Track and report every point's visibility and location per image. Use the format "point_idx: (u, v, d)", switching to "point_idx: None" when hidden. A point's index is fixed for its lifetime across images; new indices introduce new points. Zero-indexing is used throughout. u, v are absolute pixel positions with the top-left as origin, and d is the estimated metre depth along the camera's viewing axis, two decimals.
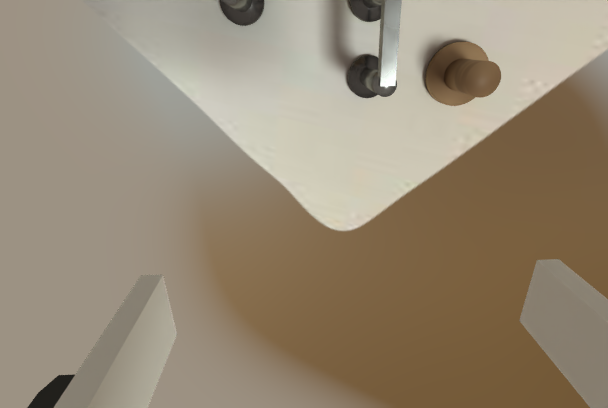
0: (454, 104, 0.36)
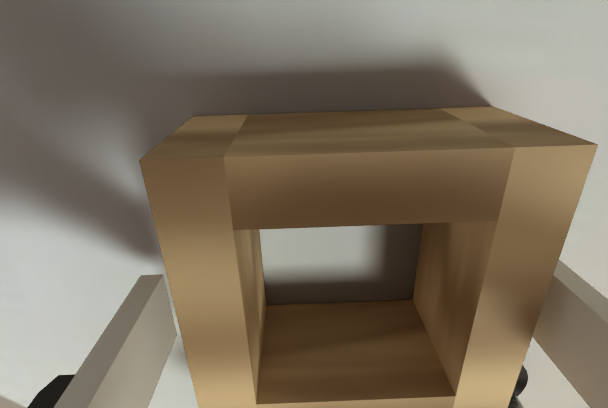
0: None
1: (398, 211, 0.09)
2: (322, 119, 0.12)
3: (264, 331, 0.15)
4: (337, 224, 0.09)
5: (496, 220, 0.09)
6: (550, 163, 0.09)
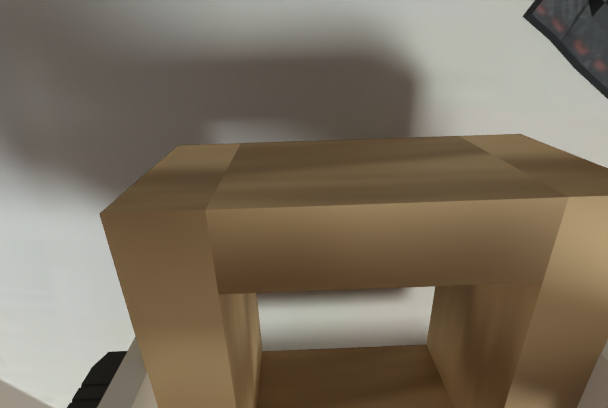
0: None
1: (421, 272, 0.07)
2: (326, 151, 0.10)
3: (259, 385, 0.13)
4: (346, 287, 0.08)
5: (541, 282, 0.08)
6: None
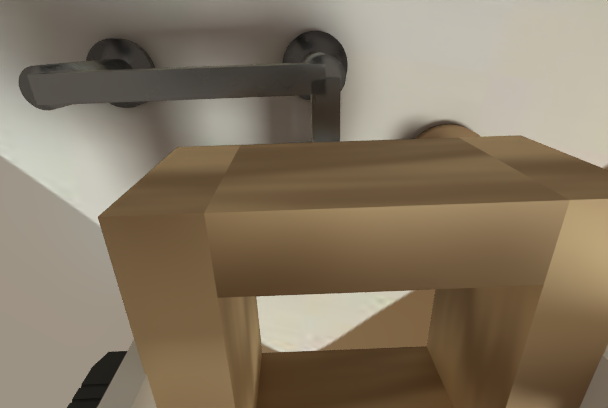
0: None
1: (421, 275, 0.07)
2: (326, 153, 0.10)
3: (259, 387, 0.13)
4: (346, 290, 0.08)
5: (541, 285, 0.08)
6: None
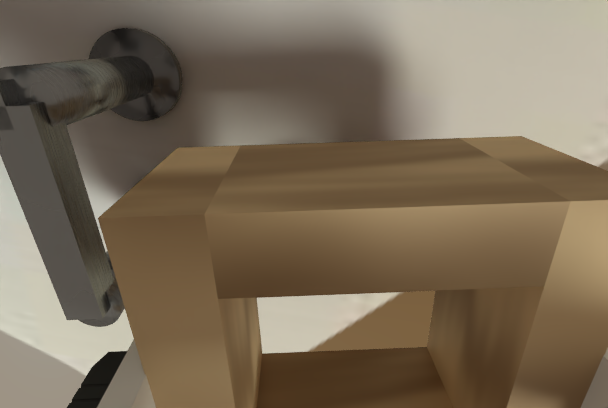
0: None
1: (422, 276, 0.07)
2: (326, 153, 0.10)
3: (259, 388, 0.13)
4: (346, 291, 0.08)
5: (542, 286, 0.08)
6: None
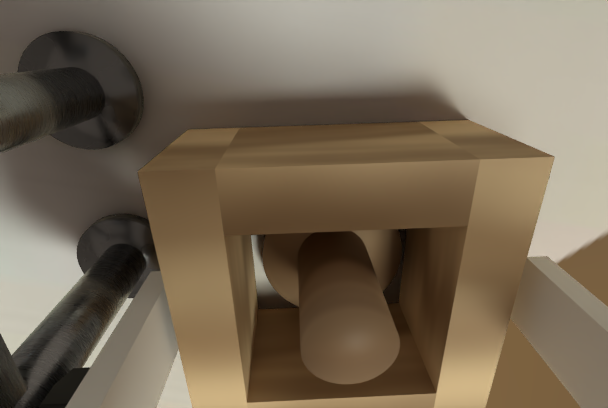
0: None
1: (376, 218, 0.10)
2: (308, 132, 0.13)
3: (256, 334, 0.16)
4: (320, 230, 0.10)
5: (466, 226, 0.10)
6: (512, 174, 0.10)
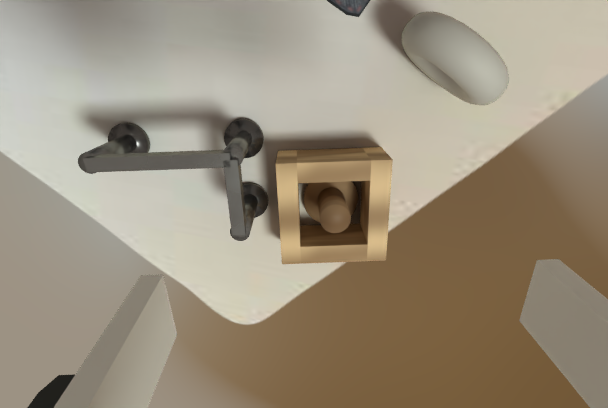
0: None
1: (342, 177, 0.34)
2: (322, 152, 0.37)
3: (300, 232, 0.40)
4: (326, 181, 0.34)
5: (370, 180, 0.34)
6: (381, 164, 0.33)
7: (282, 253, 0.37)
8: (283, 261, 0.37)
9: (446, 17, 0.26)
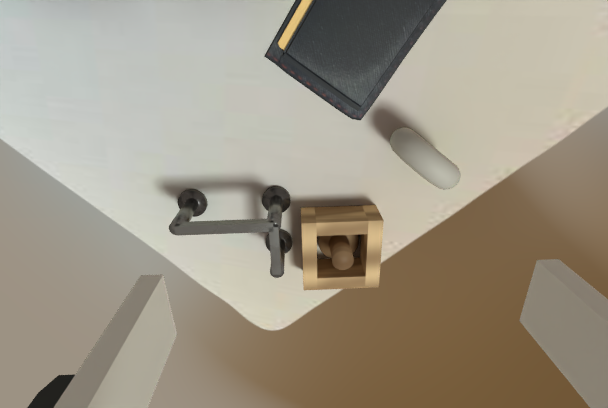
0: None
1: (348, 232, 0.48)
2: (333, 210, 0.51)
3: None
4: (336, 234, 0.48)
5: (367, 234, 0.48)
6: (375, 223, 0.47)
7: (304, 282, 0.51)
8: (304, 288, 0.52)
9: (418, 140, 0.40)
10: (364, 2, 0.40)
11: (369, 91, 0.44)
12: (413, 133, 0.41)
